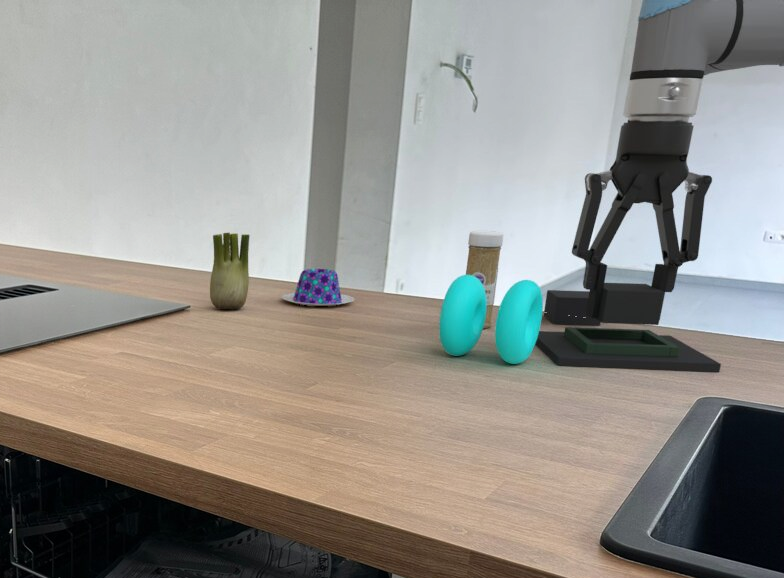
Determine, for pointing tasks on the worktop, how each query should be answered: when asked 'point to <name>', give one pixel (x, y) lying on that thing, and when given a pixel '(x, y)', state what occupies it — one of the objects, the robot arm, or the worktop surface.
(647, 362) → the base mat
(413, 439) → the worktop surface
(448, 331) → the donuts
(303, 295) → the pudding
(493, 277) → the sprinkles bottle
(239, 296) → the fennel bulb
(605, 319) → the black rectangular block
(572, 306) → the graphite pad
